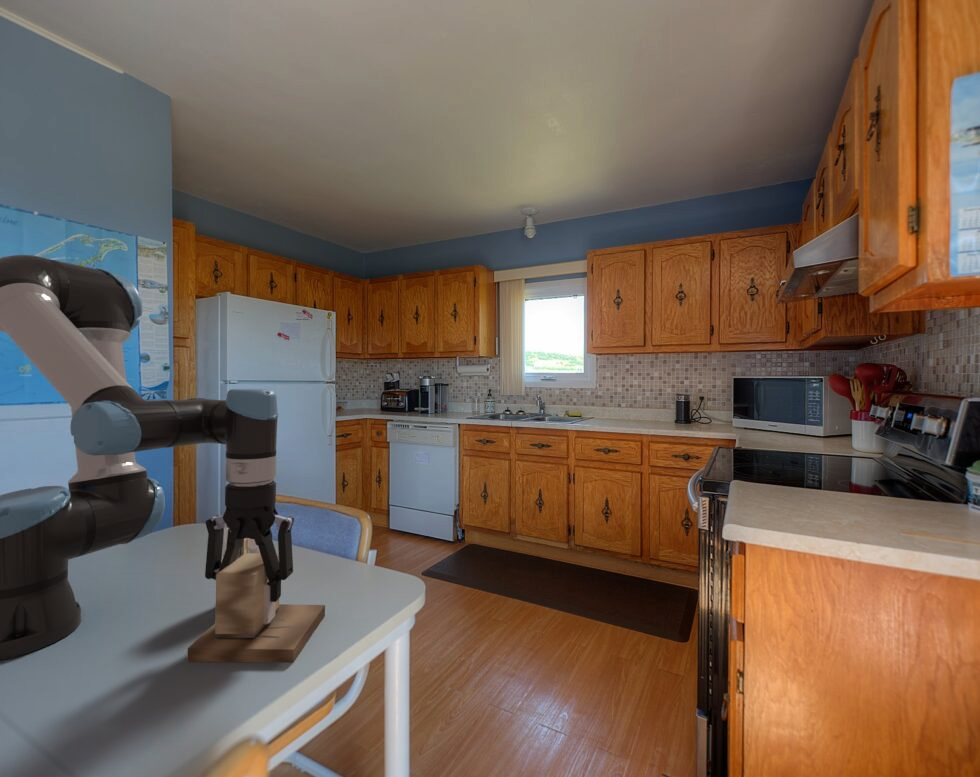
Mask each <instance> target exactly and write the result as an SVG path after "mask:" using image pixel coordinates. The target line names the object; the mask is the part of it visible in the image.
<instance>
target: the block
mask: <svg viewBox="0 0 980 777" xmlns="http://www.w3.org/2000/svg"><path fill="white" fill-rule="evenodd" d="M276 554H277V557H278V561H279V553H276ZM267 581H268V577H267V574H266V570H265V566H264V564H263V560H262V557H261V554H260V553H245V554H244V555H242V556H241V557H240V558H238V559H237V560H236V561H234V562H233V563H232V564H230V565H229V566H227V567H226V568H224V569H223V570H221V571H220V572H219V573H217V574H216V580H215V615H214V616H215V622H214V624H215V638H254V637H255V636H256V635H257V634H258V633H259V632H260V630H261V629H262V628H263V627H264V626H265V625H266V624H263V612H264V584H265V583H266V582H267ZM279 604H280V598H279V599H278V600H277V601H276V606H275V614H276V613H277V612H278V610H279Z"/></svg>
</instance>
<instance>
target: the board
mask: <svg viewBox="0 0 980 777" xmlns="http://www.w3.org/2000/svg"><path fill="white" fill-rule="evenodd" d="M325 617H326V604H286V603H285V604H281V603H279V610H278V612H277V613H276V614H275V617H274V618H273V619H272V620H271V621H270V622H269V623H268V624H266V625H265V626H264V627H263V628H262V629H261V630H260V632H259V633H258V634H257V635H256V636H255V637H254V638H215V623H214V624H213V625H211V627H209V628H208V629H207V630H206V631H205V632H204V633H203V634H202V635H201V636H199V637H198V638H197V639H196V640H195V641H194V642H193V643H192V644H190V645H189V646H188V647H187V653H186V654H187V655H186V656H187V659H186V660H187V662H206V663H207V662H214V663H215V662H216V663H217V662H218V663H219V662H220V663H222V662H224V663H228V662H230V663H293V664H294V662H295V661H296V660H297V658H298V656H299V655H300V653H301V652H302V651H303V649H304V648H305V646H306V645H307V643H308V642H309V640H310V639H311V638H312V635H313V634H314V633H315V631H316V630H317V629H318V627H319V626H320V624H321V623H322V621H323V620H324V618H325Z"/></svg>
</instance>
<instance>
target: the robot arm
mask: <svg viewBox="0 0 980 777" xmlns="http://www.w3.org/2000/svg"><path fill="white" fill-rule="evenodd" d="M142 316H143V302H142V297H141V295H140V293H139V290H138V289H137V287H136V286H135V285H134V283H132V282H131V281H130V280H128V278H126V277H125V276H123V275H121V274H117V273H113V272H111V271H108V270H105V269H101V268H92V267H88V266H83V265H78V264H75V263H74V264H73V263H69V262H65V261H60V260H54V259H50V258H47V257H42V256H38V255H31V254H14V255H8V256H3V257H0V332H3V333H6V334H7V336H8V337H10V339H11V340H12V342H14V343H15V344H16V346H17V347H18V348H19V349H20V350H21V351H22V352H23V354H24V355H25V356H26V357H27V358H28V360H29V361H30V362H31V363H32V364H33V365H34V366H35V367H36V368H37V369H38V371H39V372H40V373H41V375H43V377H44V378H45V379H46V380H47V382H49V384H51V386H52V387H53V388H54V389H55V390H56V391H57V392H58V394H59V395H60V396H61V398H63V399H64V401H65V402H66V403H67V404H68V405H69V406H70V409H71V419H70V424H69V425H70V428H69V429H70V435H71V436H73V444H74V447H75V456H76V463H77V465H76V466H77V471H76V472H75V474H74V475H73V476H72V477H71V478H70V479H68V480H67V484H68V488H67V487H65V486H61V485H46V486H45V485H44V486H39V487H35V488H30V487H29V488H25V489H19V490H15V491H11V492H8V493H4V494H3V493H2V494H0V661H3V660H7V659H11V658H15V657H19V656H23V655H25V654H29V653H31V652H34V651H35V652H36V651H37V650H40V649H42V648H45V647H47V646H49V645H52V644H53V643H56V642H58V641H60V640H62V639H64V638H66V637H68V636H69V635H70V634H71V633H73V632H74V631H75V630H76V629H77V628H79V626H80V625H81V622H82V608H81V605H80V603H79V602H78V601H76V597H75V594H74V591H73V588H72V586H71V584H70V582H69V560H72V559H75V558H78V557H83V556H85V555H89V554H92V553H95V552H99V551H102V550H106V549H108V548H112V547H115V546H119V545H127V544H129V543H131V542H133V541H135V540H138V539H140V538H143V537H146V536H147V535H149V534H151V533H152V532H153V531H154V530H155V529H156V528H157V526H158V524H160V522H161V521H162V519H163V515H164V512H165V507H166V497H165V492H164V489H163V487H162V486H160V483H159V481H157V479H154V478H151V477H148V474H147V472H148V471H147V469H146V468H145V467H144V466H142V465H140V464H139V463H138V462H137V461H136V452H143V451H144V452H145V451H150V450H158V449H165V448H176V447H183V446H184V447H185V446H191V445H192V446H193V445H198V444H221V445H225V481H226V482H227V484H226V485H225V486H224V487H225V488H224V491H225V492H224V505H225V511H224V513H223V514H222V515H220V514H219V515H215V516H212V517H210V518H209V519H206V521H205V526H206V529H207V534H208V535H207V548H206V558H205V568H204V570H205V571H204V572H205V573H204V577H205V579H207V580H211V579H212V580H214V581H216V574H217V573H219V572H220V571H221V570H223V569H224V568H226V567H227V566H229V565H230V564H232V563H233V562H234V561H236V559H237V556H238V553H239V550H240V547H241V544H242V541H243V539H245V538H250V539H254V540H255V543H256V545H258V547H259V550H260V554H261V557H262V560H263V564H264V566H265V570H266V574H267V577H268V581H267V582H266V583H265V584H264V612H263V624H268V623H269V622H270V621H271V620H272V619H273V618H274V617H275V606H276V601H277V600H278V599H279V600H280V598H281V596H282V581H285V580H287V579H288V578H289V577H290V576H291V575H292V573H294V562H293V561H294V560H293V558H294V557H293V543H292V541H293V540H292V528H293V525H294V522H295V518H294V517H293V516H291V515H289V516H287V517H285V516H282V515H279V513H278V511H277V509H276V504H277V503H276V502H277V483H276V482H275V480H274V479H276V478H277V438H278V434H277V433H278V431H277V430H278V417H279V412H278V401H277V394H276V392H275V391H273V390H272V389H257V388H255V389H254V388H251V389H250V388H234V389H229V390H228V391H227V393H226V399H224V400H223V399H213V398H212V399H210V398H203V397H196V398H195V397H194V398H193V397H191V398H184V399H171V400H169V399H168V400H165V399H164V400H163V399H162V400H161V399H160V400H146V399H144V398H143V397H142V396H141V395H140V393H138V392H137V391H136V390H135V389H134V388H133V387H132V385H130V384H129V382H128V381H127V375H126V374H127V373H126V367H125V357H124V349H123V348H124V347H123V344H124V343H125V342H127V340H128V339H129V338H131V331H133V330H134V329H135V328H137V327H138V325H139V324H140V322H141V318H140V317H142ZM225 524H227V526H228V527H229V529H230V530H231V532H230V535H229V538H228V541H227V543H228V545H227V548H226V551H225V554H224V557H223V537H224V528H225V527H224V526H225ZM274 524H275V525H276V528H275V529H276V530H277V531H278V532H277V548H278V551H277V552H278V553H277V552H276V548H275V545H274V541H273V533H272V530H271V528H272V526H274ZM277 554H279V561H278V557H277Z"/></svg>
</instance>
